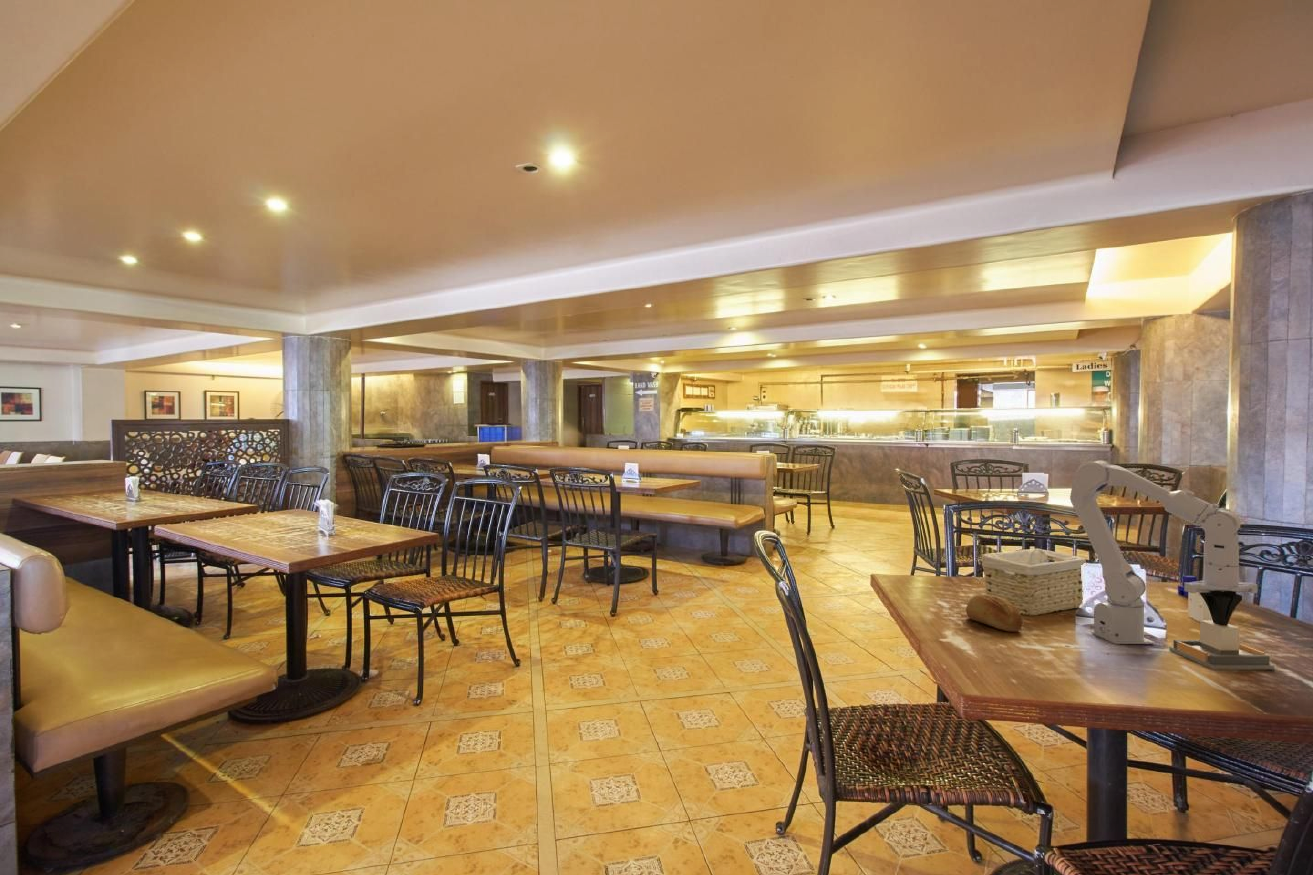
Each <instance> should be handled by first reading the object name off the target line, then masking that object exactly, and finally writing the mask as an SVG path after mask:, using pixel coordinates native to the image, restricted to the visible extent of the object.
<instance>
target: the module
mask: <svg viewBox="0 0 1313 875" xmlns="http://www.w3.org/2000/svg"><path fill="white" fill-rule="evenodd" d="M1199 623H1200V624H1199V628H1200V629H1199V640H1200V647H1203V648H1205V649H1208V650H1210V651H1213V652H1215V653H1217V654H1220V655H1239V643H1240V627H1238V626H1235V625H1233V624H1229V623H1228V625H1227V626H1221V625H1218V624H1215V623H1213V620H1200V622H1199Z"/></svg>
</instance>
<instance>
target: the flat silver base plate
mask: <svg viewBox="0 0 1313 875" xmlns="http://www.w3.org/2000/svg"><path fill="white" fill-rule="evenodd" d="M1192 647H1195V648H1197V649H1199V650H1202V651H1204V652H1207V653H1208V661H1209V655H1220V654H1217V653H1215V652H1213V651H1210V650H1208V649H1205V648H1203V647H1200V646H1192ZM1239 655H1254V654H1252V653H1249V652H1246V651H1244V650H1241V649H1239Z"/></svg>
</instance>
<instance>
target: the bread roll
mask: <svg viewBox="0 0 1313 875" xmlns="http://www.w3.org/2000/svg"><path fill="white" fill-rule="evenodd" d="M965 613H966V615H967V617H968V618H969V619H971V620H972V621H975V622H978V623H981V624H984V625H987V626H990V627H993V628H995V629H997V630H998V629H999V630H1001V631H1005V632H1019V631H1021V630H1022V626H1023V618H1022V614H1020V613H1019V611H1018V609H1017V608H1016V607H1015V606H1014V605H1013V604H1012V603H1011V602H1009V601H1008V600H1006V599H1004V598H1002V597H999V596H995V595H989V594H987V593H985V594H980V593H979V594H975V595H972V596H971V598H970V599H969V601H968V603H967V605H966V608H965Z"/></svg>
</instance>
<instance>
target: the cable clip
mask: <svg viewBox="0 0 1313 875" xmlns="http://www.w3.org/2000/svg"><path fill="white" fill-rule="evenodd" d="M1197 581H1198V579H1197V576H1195V575H1182V585H1177V595H1178V594H1179V595H1178V596H1181V595H1183V596H1182V597H1184V596H1186V597H1185V598H1188V592H1186V591H1184V583H1189V582H1197Z"/></svg>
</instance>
